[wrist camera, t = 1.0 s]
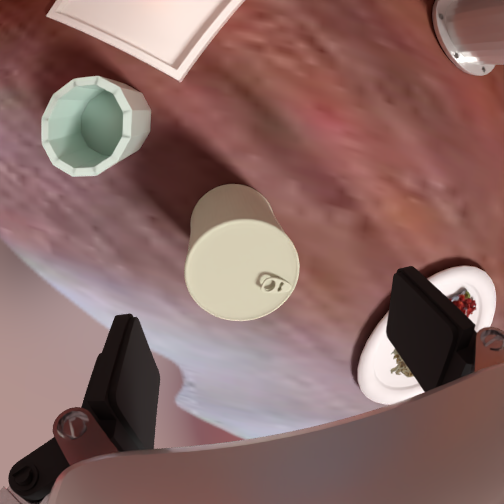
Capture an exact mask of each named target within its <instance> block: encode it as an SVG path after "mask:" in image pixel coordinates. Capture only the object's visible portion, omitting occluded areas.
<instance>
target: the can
mask: <svg viewBox="0 0 504 504" xmlns="http://www.w3.org/2000/svg"><path fill="white" fill-rule="evenodd" d="M190 227H191V234H190V241H189V248H188V254H187V257H186V261H185V267H184V277H185V282H186V286H187V289H188V291H189V293H190V295H191V296H192V298H193V299H194V301H195V302H196V303H197V304H198V305H199V306H200V307H201V308H202V309H204V310H205V311H206V312H208V313H210V314H212V315H214V316H216V317H219V318H222V319H226V320H232V321H246V320H253V319H257V318H260V317H262V316H265V315H267V314H269V313H271V312H273V311H274V310H276V309H277V308H278V307H280V306H281V305H282V304H283V303H284V302H285V301H286V300H287V299H288V297H289V296H290V295H291V293H292V292H293V290H294V288H295V286H296V283H297V280H298V276H299V258H298V254H297V251H296V249H295V246H294V244H293V243H292V241H291V240H290V238H289V237H288V236H287V235H286V234H285V232H284V231H283V229H282V227H281V226H280V224H279V223H278V221H277V219H276V218H275V216H274V214H273V211H272V209H271V206H270V204H269V203H268V201H267V200H266V199H265V198H264V196H263V195H261V194H260V193H259V192H258V191H256V190H254V189H253V188H250V187H248V186H245V185H240V184H227V185H222V186H219V187H216V188H214V189H212V190H210V191H209V192H207V193H206V194H205V195H204V196H203V197H202V198H201V199H200V200H199V201H198V203H197V204H196V206H195V208H194V210H193V212H192V216H191V223H190Z"/></svg>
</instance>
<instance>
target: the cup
mask: <svg viewBox="0 0 504 504" xmlns="http://www.w3.org/2000/svg"><path fill="white" fill-rule="evenodd" d="M150 126H151V109H150V107H149V105H148V104H147V102H146V100H145V98H144V96H143V94H142V93H141V92H139V91H137V90H135V89H134V88H132V87H130V86H128V85H126V84H124V83H121V82H118V81H114V80H111V79H108V78H104V77H101V76H91V77H83V78H75V79H73V80H71V81H70V82H69V83H67V84H66V85H65V86H63V87H62V88H61V89H59V90H58V91H57V92H56V93H54V94H53V96H52V98H51V100H50V102H49V104H48V106H47V108H46V110H45V112H44V114H43V116H42V145H43V147H44V149H45V151H46V153H47V155H48V156H49V158H50V160H51V162H52V164H53V165H54V166H56V167H57V168H59V169H61V170H62V171H64V172H66V173H67V174H69V175H71V176H73V177H76V176H97V175H98V174H100V173H102V172H103V171H105V170H106V169H108V168H110V167H111V166H113V165H115V164H116V163H118V162H120V161H122V160H123V159H125V158H126V157H128V156H130V155H131V154H133V153H135V152H136V151H138V150H139V149H140V148H141V146H142V144H143V143H144V141H145V139H146V138H147V136H148V134H149V133H150Z"/></svg>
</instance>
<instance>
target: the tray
mask: <svg viewBox="0 0 504 504" xmlns="http://www.w3.org/2000/svg"><path fill="white" fill-rule="evenodd" d="M244 1H245V0H56V2H55V3H54V5H53V6H52V8H51V9H50V11H49V12H48V14H47V15H46V16H47V17H49V18H51V19H53V20H55V21H58V22H60V23H63V24H65V25H67V26H70V27H72V28H74V29H77V30H79V31H81V32H83V33H86V34H88V35H90V36H92V37H94V38H96V39H99V40H101V41H103V42H105V43H107V44H109V45H111V46H113V47H115V48H117V49H119V50H121V51H123V52H125V53H127V54H129V55H131V56H133V57H135V58H137V59H139V60H141V61H143V62H145V63H146V64H148V65H150V66H152V67H154V68H156V69H158V70H159V71H161V72H163V73H165V74H167V75H168V76H170V77H172V78H174V79H175V80H177V81H179V82H181V81H182V80H183V79H184V77H185V76H186V74H187V73H188V71H189V70H190V69H191V67H192V66H193V64H194V63H195V62H196V60H197V59H198V58H199V56H200V55H201V54H202V52H203V51H204V50H205V48H206V47H207V46H208V44H209V43H210V42H211V41H212V39H213V38H214V37H215V35H216V34H217V33H218V32H219V30H220V29H221V28H222V27H223V25H224V24H225V23H226V22H227V21H228V19H229V18H230V17H231V16H232V15H233V13H234V12H235V11H236V10H237V9H238V8H239V6H240V5H241V4H242V3H243V2H244Z"/></svg>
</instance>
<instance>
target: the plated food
mask: <svg viewBox="0 0 504 504" xmlns="http://www.w3.org/2000/svg"><path fill="white" fill-rule="evenodd" d="M427 279H428V280H429V281H430V282H431V283H432V284H433V285H434V286H435V287H437V288H438V289H439V290H440V291H441V292H442V293H443V294H444V295H445V296H446V297H447V298H448V299H449V300H450V301H452V302H453V303H454V304H455V305H456V306H457V307H458V308H459V309H460V310H461V311H462V312H463V313H464V314H465V315H466V316H467V317H468V318H469V319H470V320H471V321H472V322H473V323H474V324H475V325H476V326H475V329H474V330H475V331H476V332H478V331H479V330H480V329H482V328H485V327H490V325H491V323H492V320H493V316H494V312H495V306H496V293H495V287H494V285H493V282H492V280H491V278H490V277H489V276H488V275H487V274H486V273H485V272H484V271H483V270H481V269H479V268H477V267H474V266H466V265H463V266H457V267H451V268H448V269H446V270H443V271H440V272H438V273H436V274H434V275H432V276H431V277H429V278H427ZM388 313H389V311H388V312H387V313H386V314H385V316H384V317H383V318H382V319H381V321H380V322H379V323H378V324H377V326H376V327H375V329H374V330H373V332H372V334H371V335H370V337H369V338H368V340H367V342H366V344H365V347H364V349H363V351H362V353H361V356H360V360H359V364H358V368H357V377H358V383H359V386H360V389H361V391H362V392H363V393H364V394H365V396H366V397H367V398H369V399H371V400H372V401H374V402H377V403H381V404H394V403H397V402H400V401H403V400H405V399H408V398H411V397H414V396H416V395H419V394H421V393H424V391H423V389H422V388H421V386H420V385H419V383H418V382H417V380H416V379H415V377H414V376H413V374H412V373H411V371H410V370H409V368H408V367H407V365H406V364H405V362H404V361H403V359H402V358H401V357H400V355H399V354H398V352H397V351H396V349H395V348H394V346H393V345H392V344H391V342H390V341H389V339H388V338H387V335H386V326H387V320H388Z"/></svg>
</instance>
